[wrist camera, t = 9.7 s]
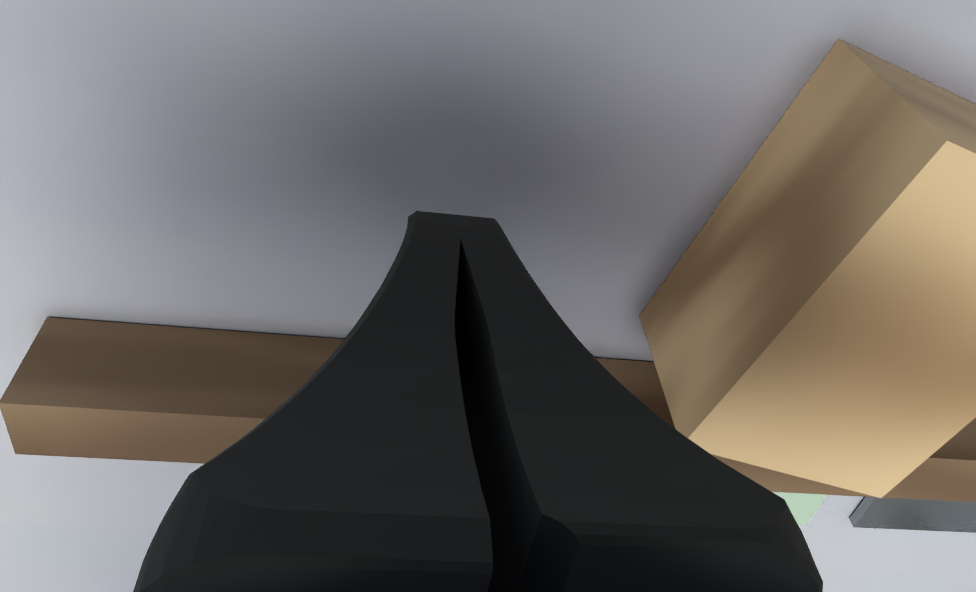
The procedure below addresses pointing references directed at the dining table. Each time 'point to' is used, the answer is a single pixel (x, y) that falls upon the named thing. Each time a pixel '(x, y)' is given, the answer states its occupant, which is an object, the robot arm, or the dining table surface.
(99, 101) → the dining table surface
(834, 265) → the oak block
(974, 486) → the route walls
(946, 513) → the trap bay
